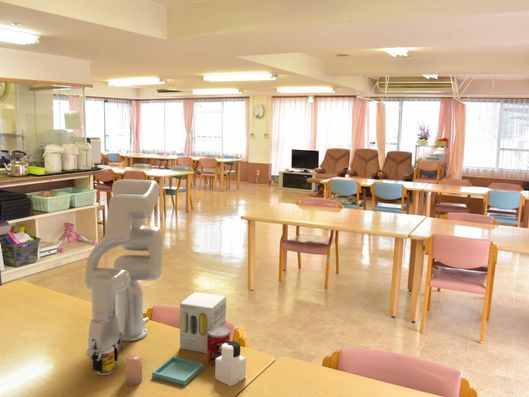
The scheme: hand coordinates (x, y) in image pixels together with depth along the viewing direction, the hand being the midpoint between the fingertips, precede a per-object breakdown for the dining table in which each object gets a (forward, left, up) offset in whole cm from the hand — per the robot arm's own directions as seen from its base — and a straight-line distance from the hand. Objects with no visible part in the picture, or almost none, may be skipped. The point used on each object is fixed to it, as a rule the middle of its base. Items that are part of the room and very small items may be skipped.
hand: (105, 365), depth 154 cm
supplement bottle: (0, 0, -2) cm, 2 cm away
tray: (-9, +22, -2) cm, 24 cm away
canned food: (-22, +30, -2) cm, 37 cm away
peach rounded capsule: (+1, +12, -2) cm, 12 cm away
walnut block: (-12, -7, -2) cm, 14 cm away
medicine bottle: (-13, +39, -2) cm, 41 cm away
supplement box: (-31, +19, -3) cm, 36 cm away
